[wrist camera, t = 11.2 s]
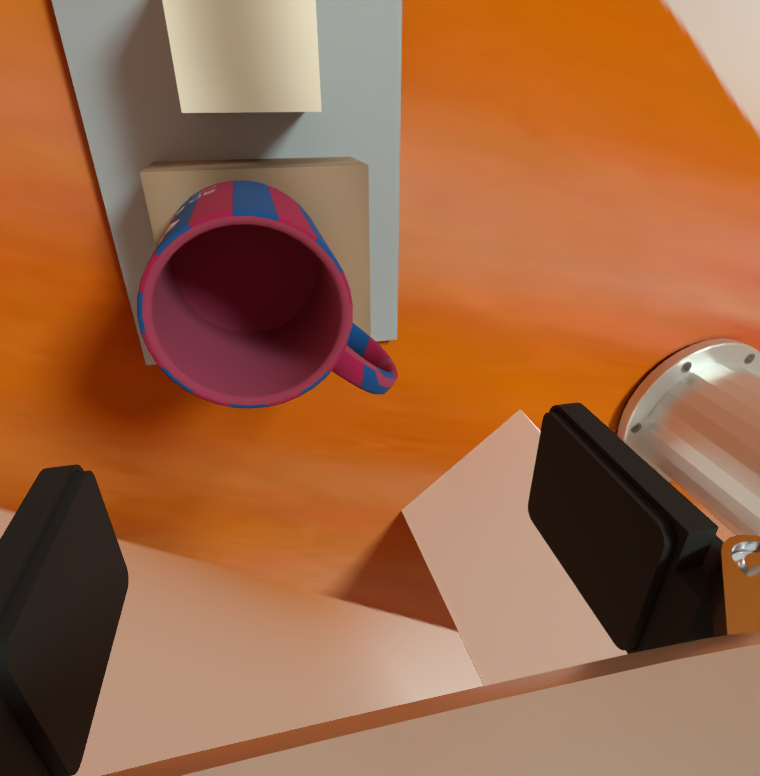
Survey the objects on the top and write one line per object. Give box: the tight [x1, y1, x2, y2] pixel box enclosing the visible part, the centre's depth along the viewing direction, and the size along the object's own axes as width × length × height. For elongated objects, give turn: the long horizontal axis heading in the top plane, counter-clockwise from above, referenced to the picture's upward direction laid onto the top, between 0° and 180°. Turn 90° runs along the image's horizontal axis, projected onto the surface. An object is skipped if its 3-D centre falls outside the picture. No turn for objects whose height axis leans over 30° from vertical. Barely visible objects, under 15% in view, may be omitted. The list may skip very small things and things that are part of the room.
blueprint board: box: [51, 0, 402, 366], centre depth 24 cm, size 14×18×1 cm
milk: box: [401, 409, 628, 686], centre depth 29 cm, size 12×12×26 cm
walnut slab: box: [140, 156, 371, 337], centre depth 24 cm, size 9×9×4 cm
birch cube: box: [162, 0, 322, 113], centre depth 19 cm, size 5×5×5 cm
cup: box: [137, 180, 398, 408], centre depth 20 cm, size 7×10×7 cm
